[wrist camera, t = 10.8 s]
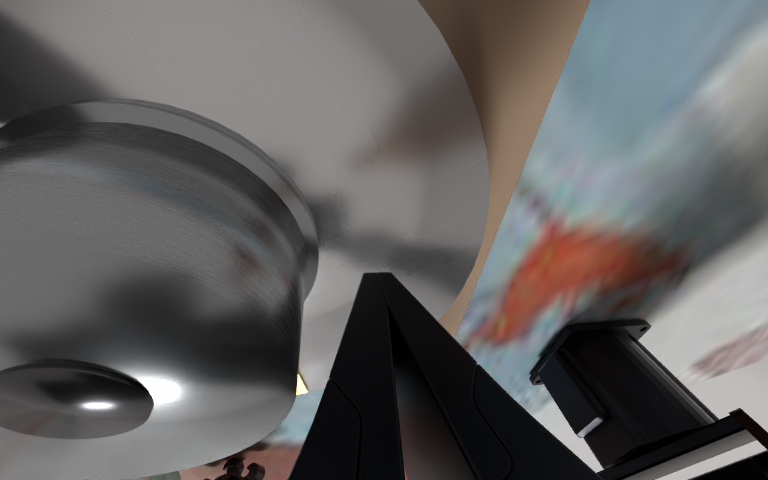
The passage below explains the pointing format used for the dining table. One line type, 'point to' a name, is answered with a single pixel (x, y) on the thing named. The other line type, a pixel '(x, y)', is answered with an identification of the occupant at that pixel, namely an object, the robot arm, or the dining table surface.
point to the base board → (505, 89)
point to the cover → (144, 291)
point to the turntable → (293, 122)
